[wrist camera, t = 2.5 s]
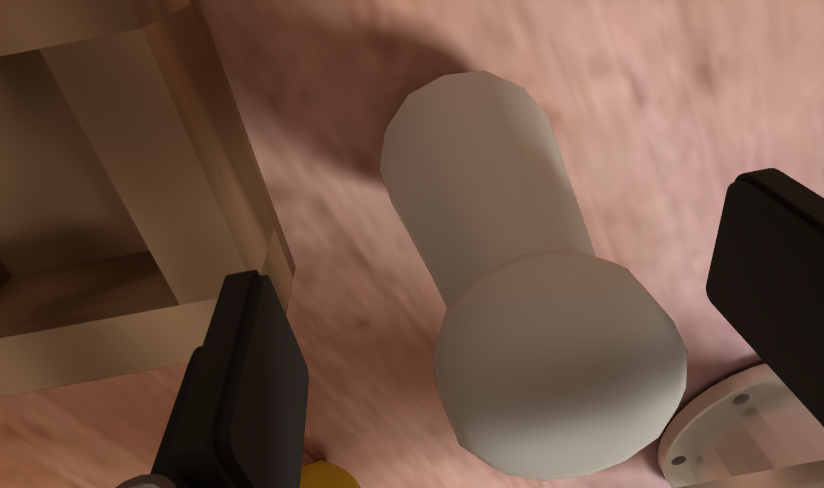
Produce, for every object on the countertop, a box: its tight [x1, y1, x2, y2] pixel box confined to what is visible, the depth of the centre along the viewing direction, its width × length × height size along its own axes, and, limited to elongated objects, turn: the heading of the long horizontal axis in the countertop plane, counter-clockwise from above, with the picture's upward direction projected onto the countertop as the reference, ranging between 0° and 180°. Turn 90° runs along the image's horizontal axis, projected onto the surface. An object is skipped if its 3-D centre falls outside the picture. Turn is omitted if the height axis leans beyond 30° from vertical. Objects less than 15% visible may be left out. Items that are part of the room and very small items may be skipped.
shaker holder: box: [0, 0, 295, 397], centre depth 16 cm, size 13×13×5 cm
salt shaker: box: [379, 71, 687, 481], centre depth 14 cm, size 6×6×13 cm
